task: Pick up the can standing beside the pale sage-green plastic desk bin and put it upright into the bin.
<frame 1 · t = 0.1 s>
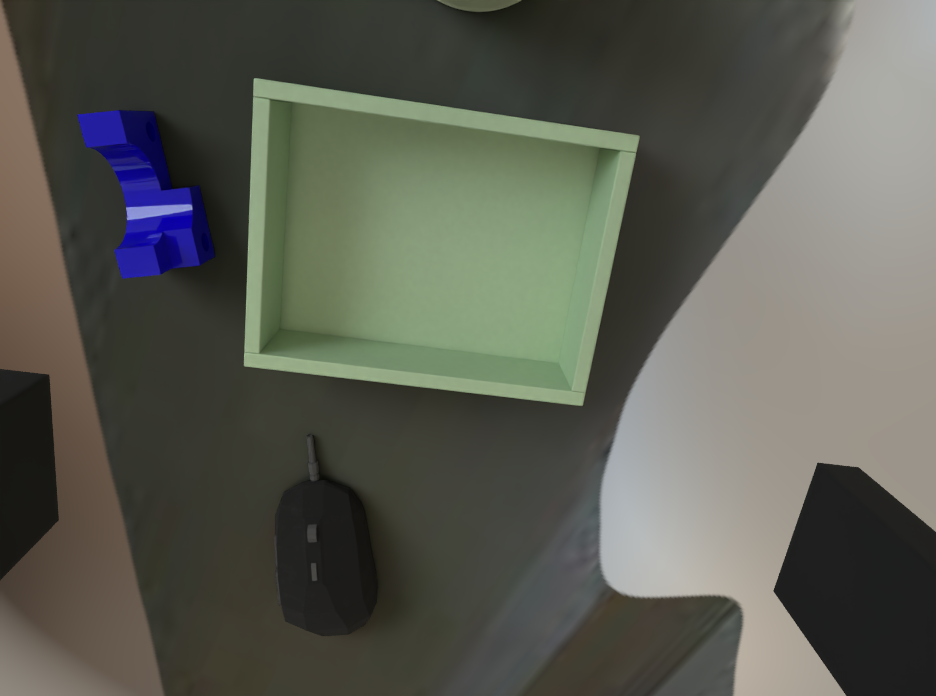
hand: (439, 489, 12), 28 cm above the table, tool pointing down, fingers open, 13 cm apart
bin: (434, 238, 38), on the table
cable holder: (169, 188, 37), on the table
gaming mouse: (325, 532, 44), on the table
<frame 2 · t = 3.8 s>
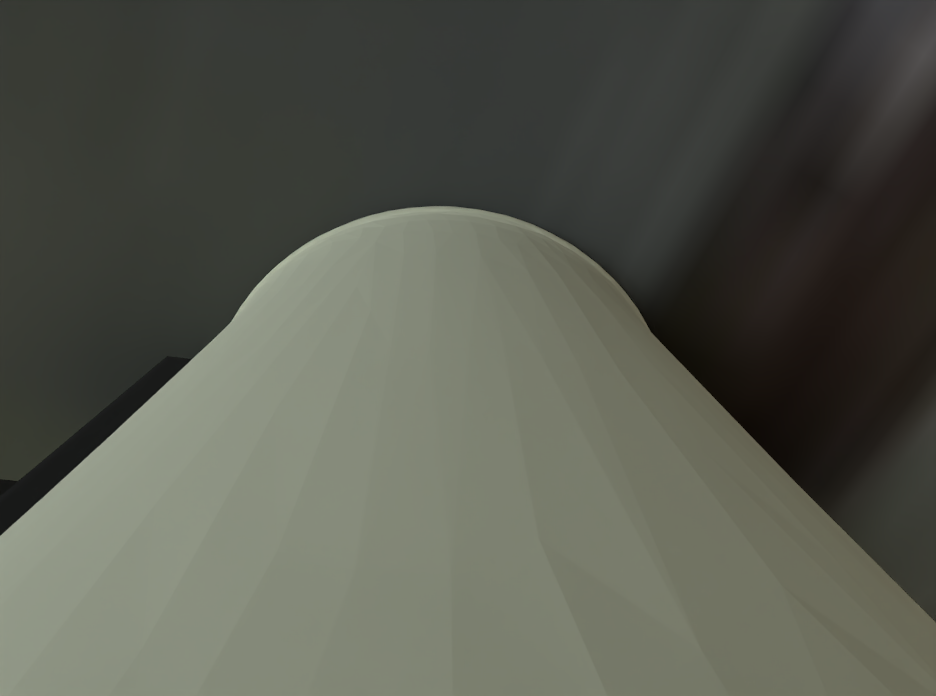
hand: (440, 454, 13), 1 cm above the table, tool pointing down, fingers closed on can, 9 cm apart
can: (441, 431, 14), on the table, touching gripper
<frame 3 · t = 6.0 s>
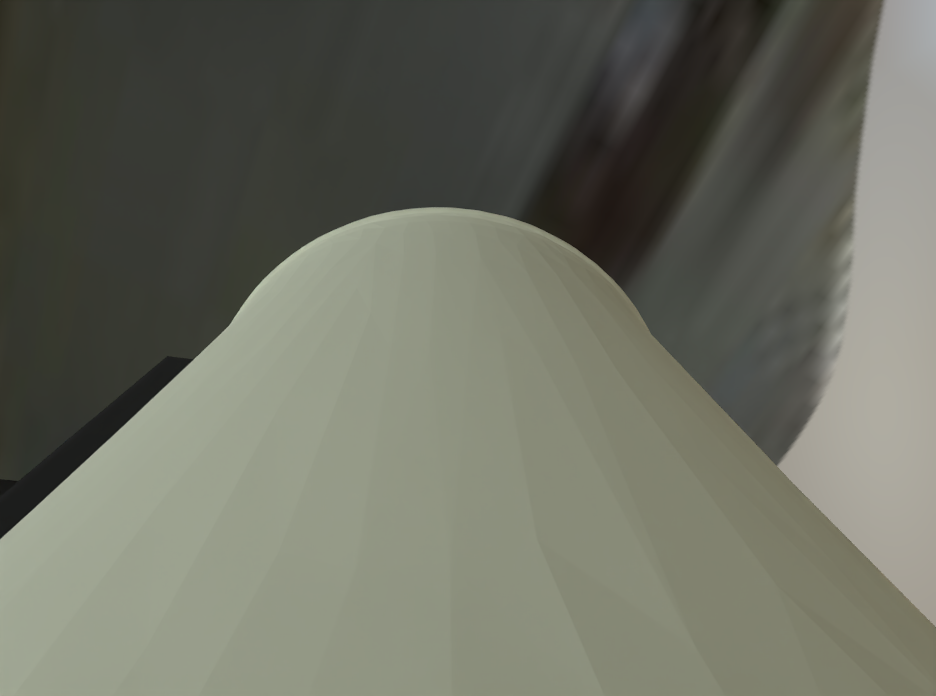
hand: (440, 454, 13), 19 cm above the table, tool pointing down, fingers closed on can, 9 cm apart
can: (440, 431, 14), point 18 cm above the table, touching gripper
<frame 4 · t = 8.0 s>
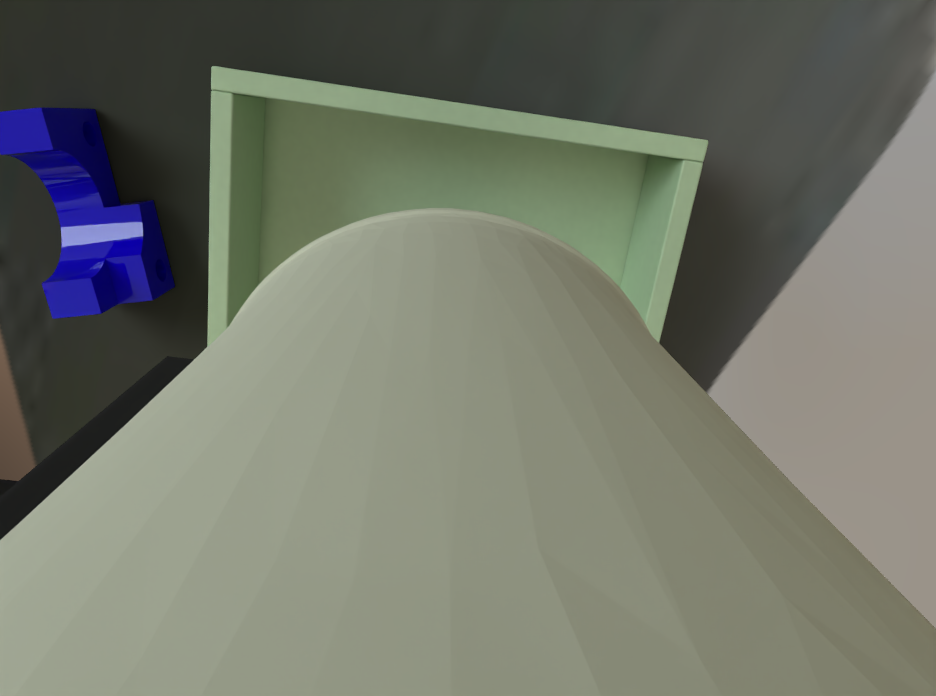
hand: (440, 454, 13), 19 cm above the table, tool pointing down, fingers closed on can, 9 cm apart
bin: (443, 265, 31), on the table
cable holder: (116, 203, 30), on the table
can: (440, 432, 14), point 18 cm above the table, touching gripper
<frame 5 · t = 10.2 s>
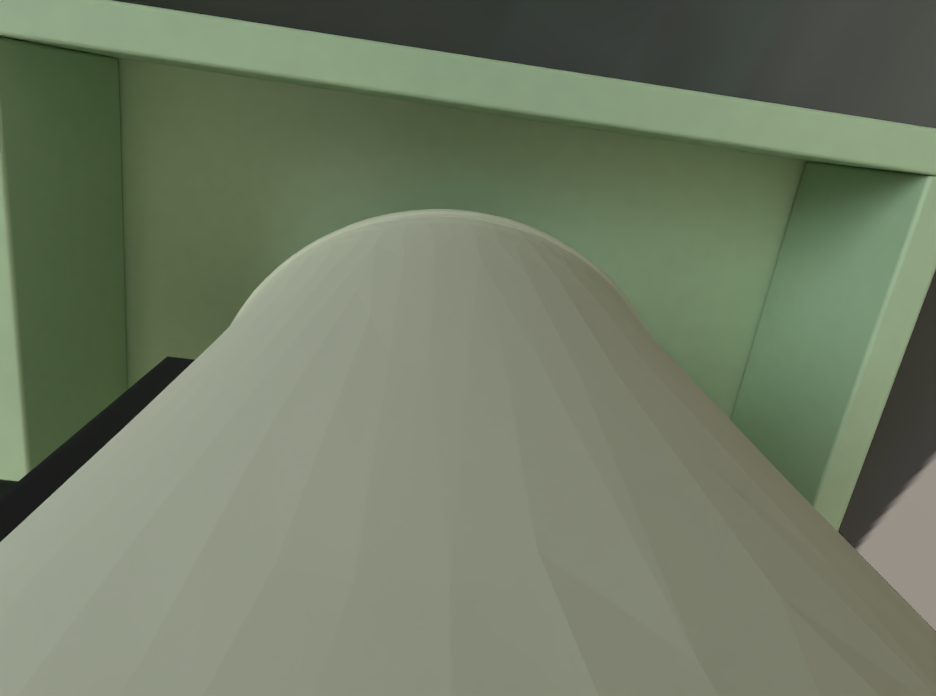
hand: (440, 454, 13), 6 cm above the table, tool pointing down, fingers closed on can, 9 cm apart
bin: (442, 346, 19), on the table
can: (440, 433, 14), point 5 cm above the table, touching gripper
when the fingers open (2 cm above the table, at t = 12.0 s): can stays where it is, resting on bin.
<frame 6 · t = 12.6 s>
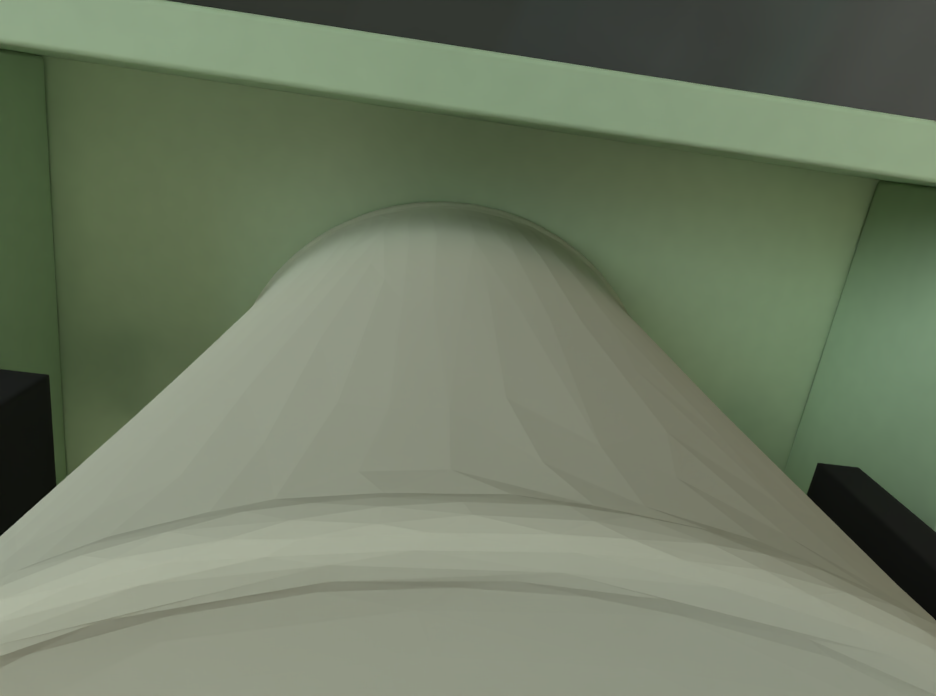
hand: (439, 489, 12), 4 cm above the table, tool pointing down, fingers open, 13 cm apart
bin: (440, 396, 16), on the table
can: (440, 405, 15), point 1 cm above the table, touching bin
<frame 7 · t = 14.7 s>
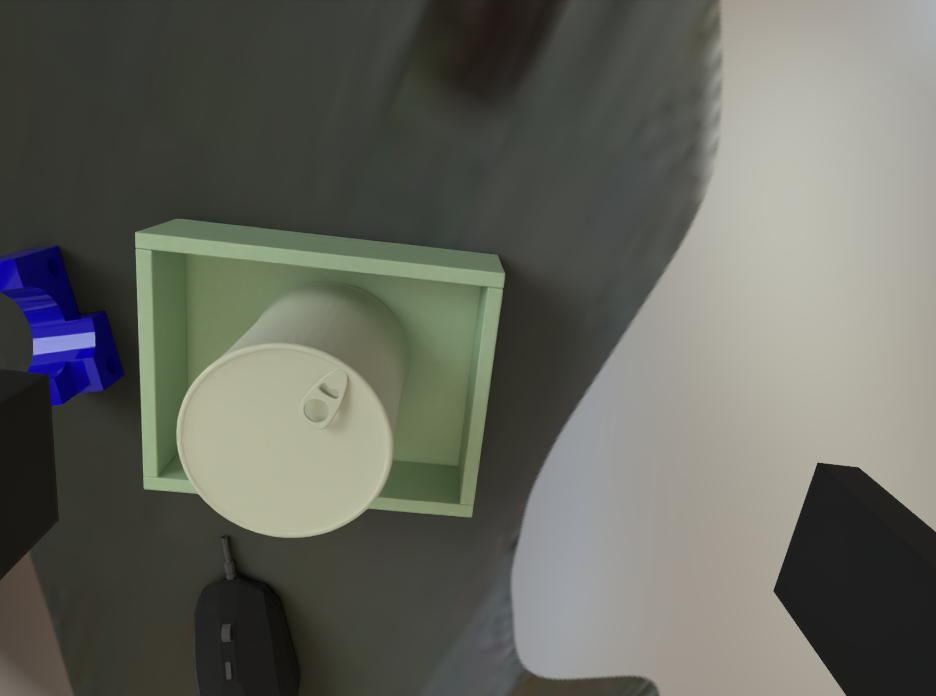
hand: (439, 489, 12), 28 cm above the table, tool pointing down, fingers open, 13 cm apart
bin: (332, 354, 40), on the table
cable holder: (76, 313, 39), on the table
can: (331, 356, 39), point 1 cm above the table, touching bin
gaming mouse: (246, 625, 46), on the table
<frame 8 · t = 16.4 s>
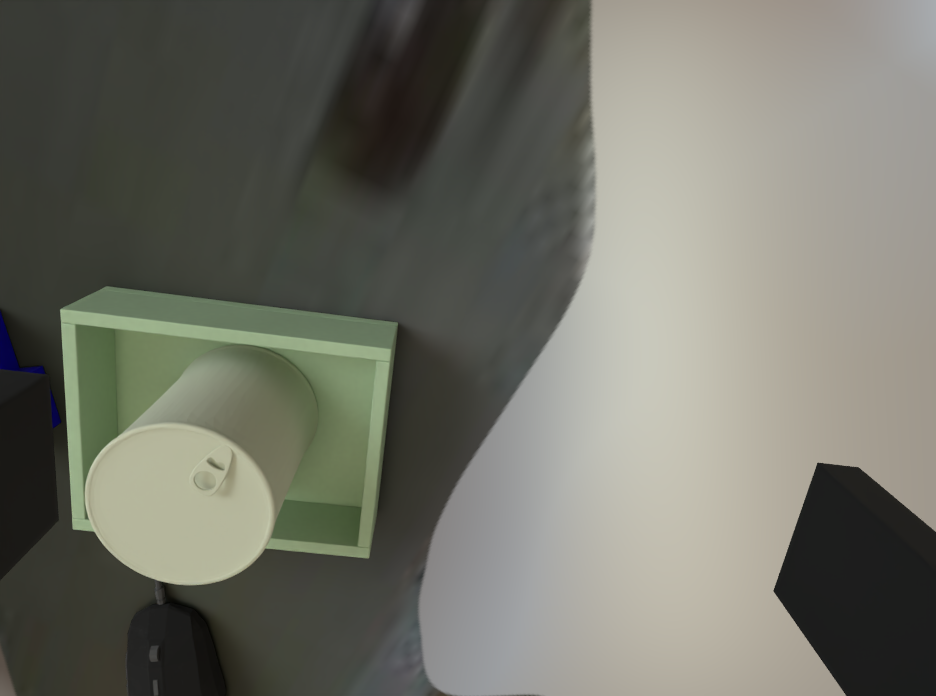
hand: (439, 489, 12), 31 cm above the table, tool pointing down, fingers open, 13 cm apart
bin: (250, 406, 44), on the table
cable holder: (17, 367, 43), on the table
can: (248, 409, 43), point 1 cm above the table, touching bin
gaming mouse: (177, 644, 50), on the table
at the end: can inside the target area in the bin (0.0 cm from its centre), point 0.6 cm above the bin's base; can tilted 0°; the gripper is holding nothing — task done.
